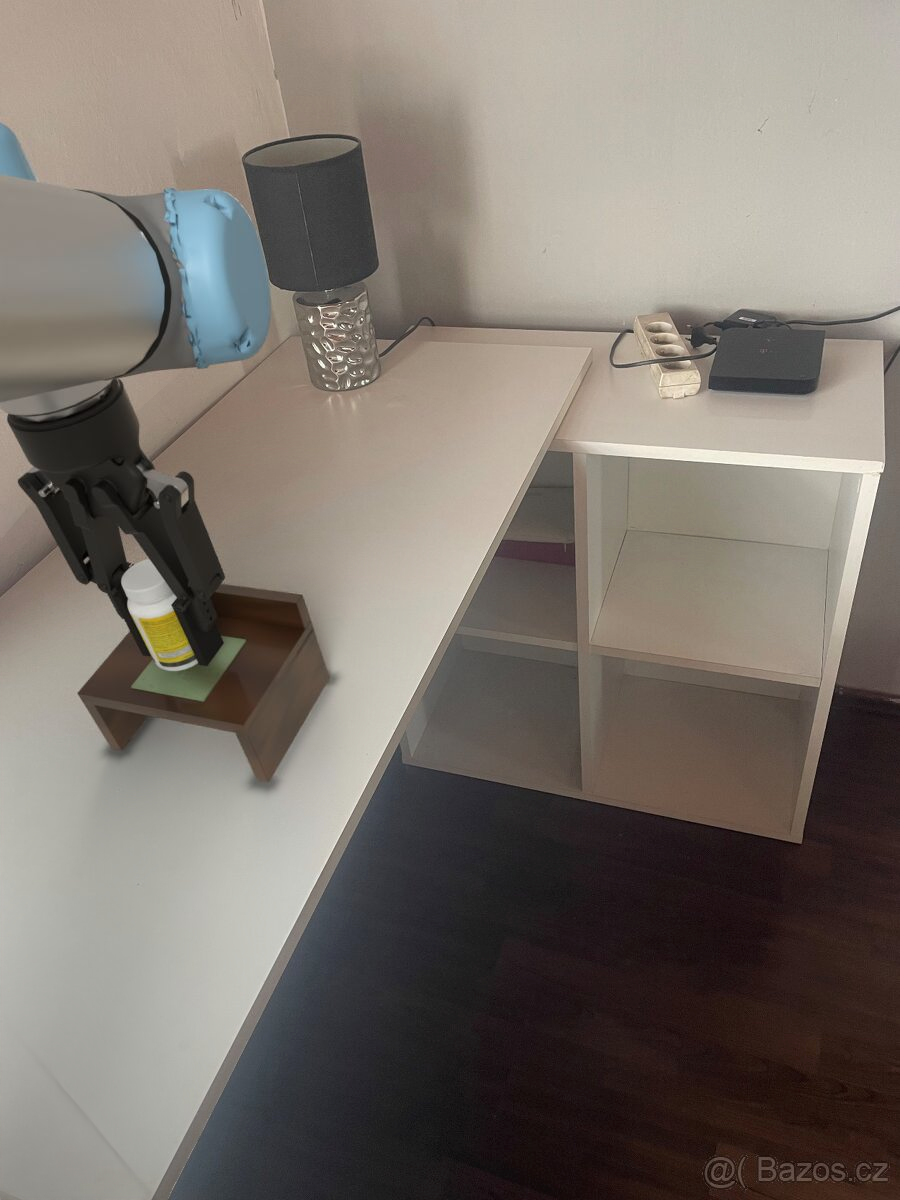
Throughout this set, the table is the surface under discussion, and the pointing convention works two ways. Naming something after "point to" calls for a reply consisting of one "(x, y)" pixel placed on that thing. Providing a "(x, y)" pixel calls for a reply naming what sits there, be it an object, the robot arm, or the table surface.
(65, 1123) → the table surface
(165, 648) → the supplement bottle
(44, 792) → the table surface
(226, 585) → the shelf
